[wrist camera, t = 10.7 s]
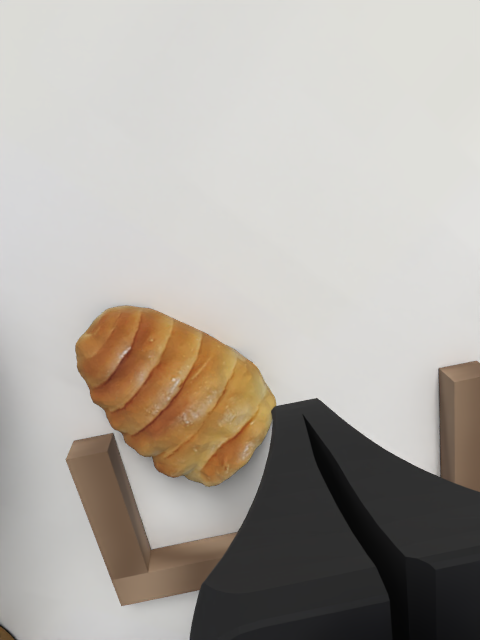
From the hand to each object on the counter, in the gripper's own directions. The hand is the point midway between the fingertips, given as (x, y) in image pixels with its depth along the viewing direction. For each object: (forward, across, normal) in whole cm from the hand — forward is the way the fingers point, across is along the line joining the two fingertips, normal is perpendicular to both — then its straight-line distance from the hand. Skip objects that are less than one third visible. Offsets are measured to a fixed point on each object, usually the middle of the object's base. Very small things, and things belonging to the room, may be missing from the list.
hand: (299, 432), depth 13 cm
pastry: (+10, +4, +3) cm, 11 cm away
